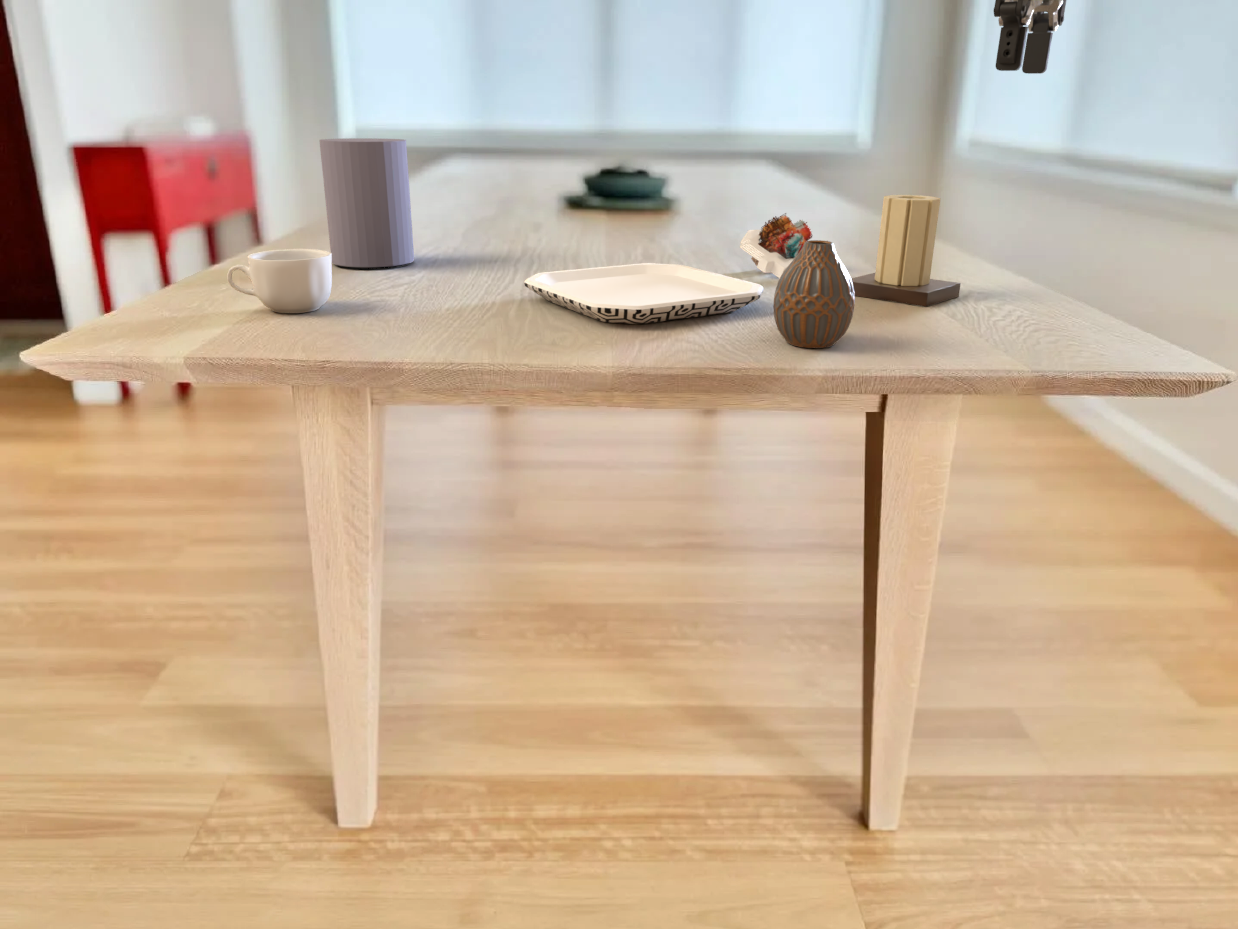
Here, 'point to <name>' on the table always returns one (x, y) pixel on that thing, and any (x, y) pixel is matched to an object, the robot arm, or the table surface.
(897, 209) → the fluted hollow cylinder
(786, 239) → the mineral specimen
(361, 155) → the container
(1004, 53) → the robot arm
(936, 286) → the peg stand
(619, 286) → the plate
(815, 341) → the vase
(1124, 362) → the table surface
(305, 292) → the teacup
